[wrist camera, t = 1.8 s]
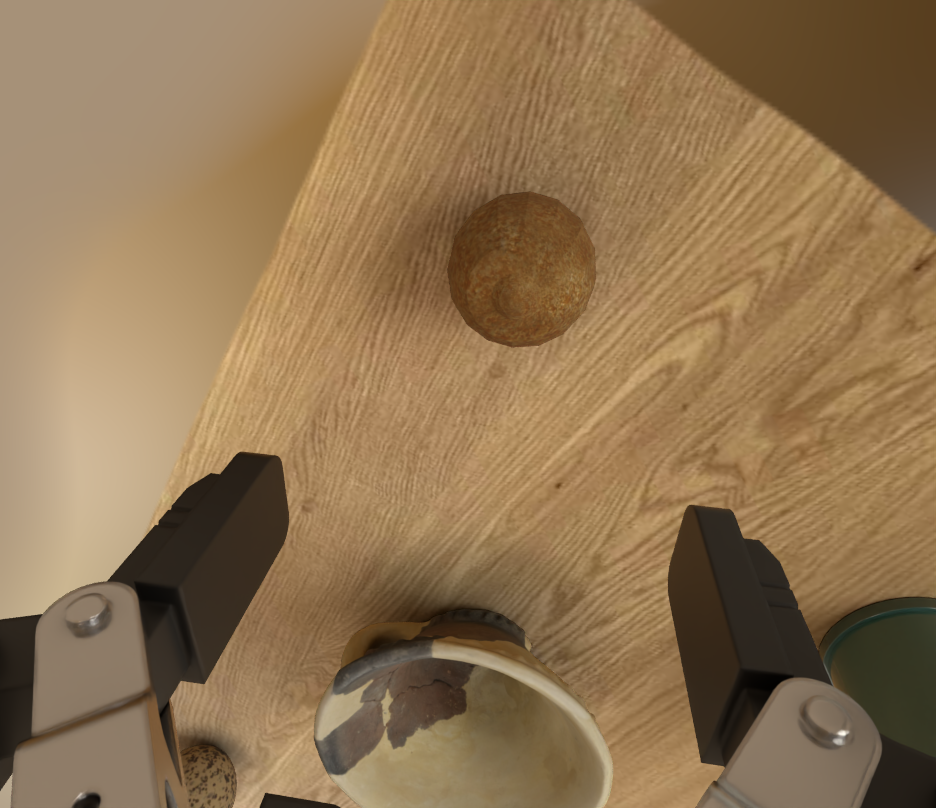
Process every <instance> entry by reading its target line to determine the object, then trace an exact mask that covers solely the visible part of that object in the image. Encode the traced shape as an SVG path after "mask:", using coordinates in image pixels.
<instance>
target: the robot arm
mask: <svg viewBox="0 0 936 808" xmlns="http://www.w3.org/2000/svg"><path fill="white" fill-rule="evenodd" d="M288 525H289V511H288V504H287V496H286V489H285V481H284V474H283V466H282V462H281V459H280V458H279V457H278V456H275V455H267V454H258V453H249V452H239V453H238V454H236V456H235V457H234V458H233V459H232V460H231V462H230V463H229V464H228V465H227V467H226V468H225V469H224V470H223V471H222V473H221V474H212V473H210V474H209V475H207V476H206V477H204V478H202V479H201V480H199V481H198V482H196V483H194V484H193V485H191V486H190V487H188V488H187V489H186V490H185V491H184V492H183V493H182V495H181V496H180V497H179V498H178V499H177V500H176V502H175V503H174V504H173V505H172V508H171V510H168V511H167V512H166V513H165V514H164V516H163V517H162V518H161V519H160V520H159V524H158V525H155V526H154V527H153V528H152V530H151V531H150V532H149V533H148V534H147V535H146V536H145V538H144V539H143V540H142V541H141V542H140V543H139V545H138V546H137V547H136V548H135V549H134V550H133V552H132V553H131V554H130V555H129V556H128V557H127V559H126V560H125V561H124V562H123V563H122V564H121V566H120V567H119V568H118V569H117V570H116V571H115V573H114V574H113V575H112V576H111V577H110V579H109V580H108V581H107V582H98V583H93V584H89V585H86V586H83V587H80V588H78V589H75V590H73V591H71V592H69V593H68V594H66V595H64V596H63V597H61V598H60V599H58V600H57V601H55V602H54V603H53V604H52V605H51V606H50V607H49V608H48V609H47V610H46V611H45V612H44V613H43V614H40V615H32V616H25V617H16V618H9V619H2V620H0V790H1V789H2V788H3V786H4V785H5V783H6V782H7V780H8V779H9V777H10V776H11V775H12V773H13V779H12V794H11V808H190V805H189V800H188V795H187V789H186V783H185V777H184V771H183V765H182V759H181V753H180V747H179V741H178V735H177V729H176V724H175V718H174V712H173V706H172V702H171V699H170V698H171V696H172V694H173V693H174V691H175V689H176V688H177V686H178V684H179V683H180V681H187V682H193V683H200V684H205V682H206V680H207V679H208V677H209V675H210V673H211V672H212V670H213V668H214V666H215V664H216V663H217V661H218V659H219V657H220V656H221V654H222V652H223V650H224V649H225V647H226V645H227V643H228V642H229V640H230V638H231V636H232V634H233V633H234V631H235V629H236V627H237V626H238V624H239V622H240V620H241V619H242V617H243V615H244V613H245V611H246V610H247V608H248V606H249V604H250V603H251V601H252V599H253V597H254V596H255V594H256V592H257V590H258V588H259V587H260V585H261V583H262V581H263V580H264V578H265V576H266V574H267V573H268V571H269V569H270V567H271V566H272V564H273V562H274V560H275V558H276V557H277V555H278V553H279V551H280V550H281V548H282V546H283V544H284V542H285V539H286V535H287V531H288ZM789 587H790V585H789V582H788V580H787V578H786V575H785V573H784V571H783V568H782V566H781V564H780V562H779V561H778V560H777V559H776V558H775V556H774V555H773V554H772V553H771V552H770V551H769V550H768V549H767V548H766V547H765V546H764V545H763V544H762V543H761V542H760V541H759V540H752V539H744V538H743V536H742V534H741V531H740V528H739V526H738V523H737V520H736V518H735V515H734V513H733V512H732V511H731V510H730V509H722V508H713V507H705V506H696V505H689V506H688V507H687V508H686V510H685V513H684V516H683V520H682V523H681V527H680V530H679V534H678V537H677V541H676V544H675V548H674V551H673V555H672V558H671V562H670V566H669V573H668V595H669V601H670V606H671V611H672V616H673V621H674V626H675V631H676V636H677V641H678V646H679V652H680V657H681V662H682V667H683V672H684V677H685V682H686V687H687V692H688V697H689V702H690V707H691V712H692V717H693V723H694V728H695V733H696V738H697V743H698V748H699V753H700V758H701V763H707V764H713V765H720V766H724V767H725V769H724V771H723V772H722V774H721V775H720V777H719V778H718V780H717V781H713V782H712V783H711V785H710V786H709V787H708V789H707V790H706V792H705V793H704V795H703V796H702V798H701V800H700V801H699V803H698V804H697V806H696V807H695V808H936V758H935V757H932V756H930V755H927V754H925V753H923V752H920V751H918V750H915V749H913V748H911V747H908V746H906V745H903V744H901V743H898V742H896V741H894V740H892V739H890V738H888V737H886V736H884V735H882V734H881V733H879V732H878V730H877V728H876V726H875V724H874V723H873V721H872V719H871V718H870V717H869V715H868V714H867V713H866V712H865V711H864V709H863V708H862V707H861V706H860V705H859V704H858V703H856V702H855V701H854V700H853V699H852V698H851V697H849V696H848V695H846V694H845V693H843V692H842V691H840V690H839V689H837V688H835V687H833V685H832V683H831V680H830V678H829V676H828V673H827V671H826V669H825V666H824V664H823V662H822V659H821V657H820V655H819V652H818V650H817V648H816V645H815V643H814V641H813V638H812V636H811V634H810V631H809V629H808V627H807V624H806V622H805V620H804V617H803V615H802V613H801V610H798V603H797V601H796V599H795V596H794V594H793V592H792V590H790V589H789ZM260 808H340V807H338V806H336V805H334V804H328V803H322V802H316V801H310V800H304V799H298V798H293V797H287V796H281V795H275V794H269V793H265V795H264V798H263V800H262V803H261V805H260Z"/></svg>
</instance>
